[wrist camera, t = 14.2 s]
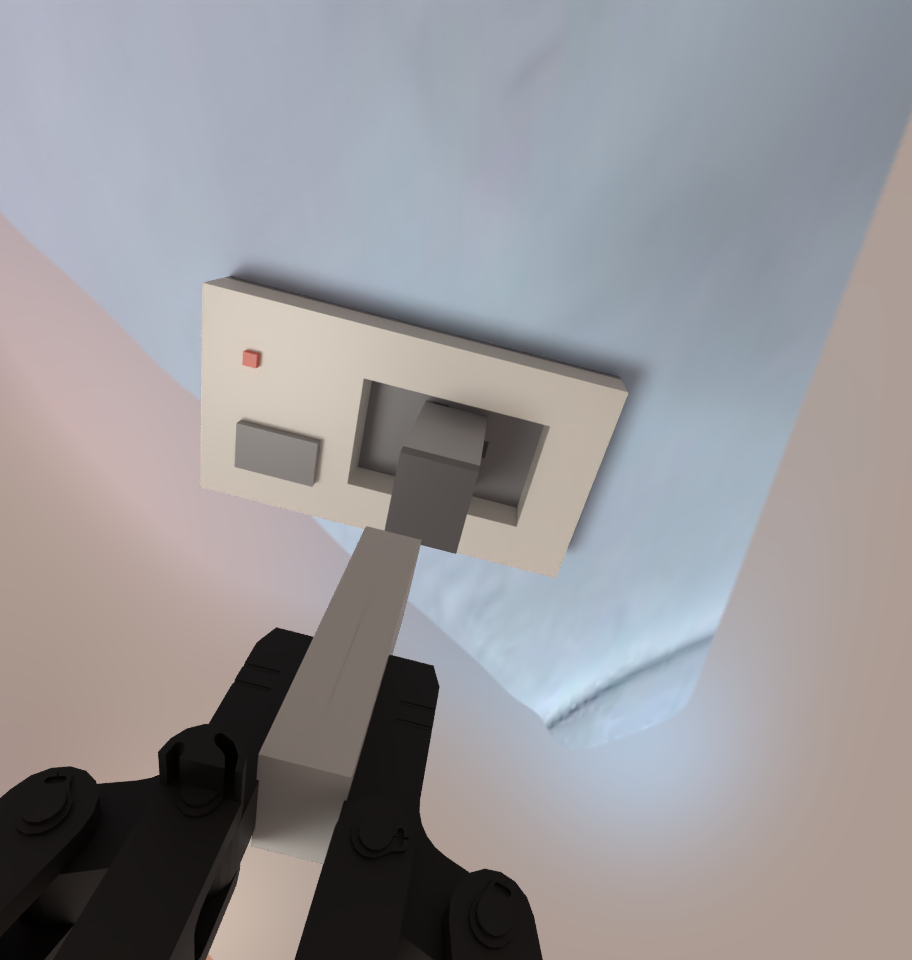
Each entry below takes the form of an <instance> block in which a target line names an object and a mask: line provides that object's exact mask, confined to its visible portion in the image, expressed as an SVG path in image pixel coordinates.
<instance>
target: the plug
mask: <svg viewBox="0 0 912 960" xmlns="http://www.w3.org/2000/svg"><path fill="white" fill-rule="evenodd" d="M487 419H488V417H485V416H481V415H477V414H473V413H470V412H466V411H462V410H458V409H454V408H450V407H446V406H442V405H438V404H435V403H431V402H427V401H425V403H424V405H423V407H422V409H421V411H420V413H419V415H418V417H417V419H416V421H415V423H414V425H413V427H412V429H411V431H410V433H409V435H408V437H407V439H406V441H405V443H404V446H403V448H402V450H401V452H400V455H399V460H398V465H397V470H396V475H395V480H394V485H393V490H392V495H391V500H390V505H389V510H388V515H387V520H386V525H385V530H384V531H388V532H392V533H396V534H400V535H404V536H408V537H412V538H416V539H420V540H422V541H421V545H424V546H428V547H432V548H435V549H439V550H443V551H447V552H451V553H455V554H456V552H457V549H458V545H459V542H460V538H461V535H462V531H463V527H464V524H465V520H466V517H467V513H468V510H469V506H470V502H471V499H472V495H473V492H474V488H475V484H476V481H477V477H478V474H479V468H480V462H481V456H482V450H483V444H484V438H485V432H486V425H487Z"/></svg>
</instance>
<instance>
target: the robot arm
mask: <svg viewBox="0 0 912 960" xmlns="http://www.w3.org/2000/svg"><path fill="white" fill-rule="evenodd" d="M421 541H422V540H420V539H416V538H412V537H408V536H404V535H400V534H396V533H392V532H388V531H384V530H380V529H376V528H372V527H369V526H366V527H365V529H364V531H363V534H362V536H361V538H360V540H359V542H358V544H357V546H356V548H355V551H354V553H353V555H352V557H351V559H350V561H349V563H348V565H347V568H346V570H345V572H344V574H343V576H342V578H341V580H340V582H339V585H338V587H337V589H336V591H335V593H334V595H333V597H332V599H331V601H330V604H329V606H328V608H327V610H326V612H325V614H324V616H323V618H322V621H321V623H320V625H319V627H318V629H317V631H316V633H315V636H314V637H311V636H308V635H304V634H300V633H296V632H292V631H288V630H285V629H280V628H275V629H274V630H272V631H271V632H270V633H268V634H267V635H266V636H265V637H263V638H262V639H261V640H259V641H258V642H257V643H256V645H255V646H254V648H253V650H252V652H251V653H250V655H249V657H248V658H247V660H246V662H245V664H244V667H242V669H241V670H240V672H239V674H238V675H237V677H236V679H235V682H234V683H233V684H232V686H231V687H230V689H229V690H228V692H227V694H226V695H225V697H224V699H223V701H222V702H221V704H220V706H219V707H218V709H217V711H216V713H215V714H214V716H213V717H212V719H211V721H210V723H209V724H203V725H200V726H195V727H191V728H187V729H185V730H184V731H182V732H180V733H179V734H177V735H175V736H174V737H172V738H171V739H170V740H169V741H168V742H167V743H166V744H165V745H164V746H163V747H162V748H161V750H160V751H159V752H158V757H159V758H158V759H159V773H160V775H157V776H155V777H152V778H148V779H143V780H137V781H127V782H115V783H103V784H96V781H95V780H94V779H93V778H92V776H90V774H89V773H88V772H87V771H85V770H81V769H77V768H74V767H71V766H70V767H57V768H50V769H47V770H45V771H42V772H39V773H37V774H34V775H31V776H29V777H28V778H27V779H25V780H23V781H22V782H21V783H19V784H18V785H16V786H14V787H13V788H12V789H10V790H9V791H8V792H7V793H6V794H4V795H3V796H2V797H1V798H0V960H206V957H207V955H208V953H209V950H210V948H211V945H212V943H213V940H214V938H215V936H216V933H217V931H218V928H219V926H220V923H221V921H222V919H223V916H224V914H225V911H226V909H227V906H228V904H229V902H230V899H231V897H232V894H233V892H234V889H235V887H236V884H237V880H238V875H239V871H240V862H241V860H242V858H243V855H244V853H245V850H246V848H247V846H248V843H249V841H250V839H251V836H252V842H251V846H252V847H256V848H260V849H264V850H268V851H272V852H276V853H280V854H284V855H288V856H292V857H296V858H300V859H304V860H308V861H312V862H316V863H320V864H323V867H322V870H321V874H320V877H319V880H318V884H317V887H316V890H315V894H314V897H313V900H312V904H311V907H310V910H309V914H308V917H307V921H306V923H305V927H304V930H303V933H302V937H301V940H300V943H299V947H298V950H297V954H296V957H295V960H543V959H542V954H541V949H540V944H539V939H538V934H537V930H536V924H535V919H534V915H533V913H532V910H531V907H530V904H529V902H528V899H527V897H526V895H525V894H524V893H523V892H522V890H521V889H520V888H519V886H518V885H517V884H516V882H515V881H513V880H512V879H510V878H509V877H507V876H506V875H504V874H503V873H501V872H498V871H493V870H488V869H482V870H479V871H475V872H471V873H469V872H468V871H466V870H465V869H463V868H462V867H460V866H459V865H458V864H456V863H455V862H453V861H452V860H450V859H449V858H447V857H446V856H445V855H443V854H442V853H441V852H440V851H439V850H438V849H437V848H435V847H434V845H433V844H432V842H431V841H430V840H429V838H428V837H427V835H426V833H425V831H424V828H423V826H422V823H421V818H420V812H419V810H420V797H421V791H422V785H423V779H424V773H425V767H426V762H427V756H428V750H429V744H430V738H431V733H432V732H431V731H432V727H433V721H434V715H435V709H436V704H437V698H438V692H439V684H438V680H437V677H436V673H435V669H434V666H433V665H428V664H425V663H420V662H417V661H413V660H409V659H404V658H401V657H397V656H393V655H392V654H393V651H394V647H395V644H396V640H397V637H398V633H399V630H400V626H401V623H402V619H403V616H404V611H405V607H406V603H407V599H408V595H409V591H410V587H411V583H412V578H413V574H414V570H415V566H416V562H417V558H418V554H419V549H420V545H421Z"/></svg>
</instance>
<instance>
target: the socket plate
mask: <svg viewBox="0 0 912 960" xmlns="http://www.w3.org/2000/svg"><path fill="white" fill-rule="evenodd" d="M628 393H629V392H628V390H627V389H626V387H625V385H624V383H623V382H622V380H621V378H620V377H616V376H613V375H609V374H605V373H601V372H597V371H593V370H589V369H585V368H582V367H578V366H574V365H570V364H566V363H562V362H558V361H554V360H551V359H547V358H543V357H539V356H535V355H531V354H527V353H523V352H520V351H516V350H512V349H508V348H504V347H500V346H496V345H492V344H489V343H485V342H481V341H477V340H473V339H469V338H465V337H461V336H458V335H454V334H450V333H446V332H442V331H438V330H434V329H430V328H427V327H423V326H419V325H415V324H411V323H407V322H403V321H399V320H395V319H392V318H388V317H384V316H380V315H376V314H372V313H368V312H364V311H361V310H357V309H353V308H349V307H345V306H341V305H337V304H333V303H330V302H326V301H322V300H318V299H314V298H310V297H306V296H302V295H299V294H295V293H291V292H287V291H283V290H279V289H275V288H271V287H268V286H264V285H260V284H256V283H252V282H248V281H244V280H240V279H237V278H233V277H225V278H220V279H216V280H212V281H207V282H203V288H202V367H201V446H200V487H202V488H206V489H210V490H214V491H218V492H221V493H226V494H229V495H233V496H237V497H241V498H245V499H249V500H253V501H257V502H261V503H265V504H269V505H272V506H276V507H280V508H284V509H288V510H292V511H296V512H300V513H304V514H308V515H311V516H315V517H319V518H323V519H327V520H331V521H335V522H339V523H343V524H347V525H351V526H355V527H358V528H362V529H365V527H366V526H369V527H372V528H376V529H380V530H385V525H386V520H387V515H388V510H389V505H390V500H391V495H392V490H393V485H394V480H395V475H396V470H397V465H398V460H399V455H400V452H401V450H402V448H403V446H404V443H405V441H406V439H407V437H408V435H409V433H410V431H411V429H412V427H413V425H414V423H415V421H416V419H417V417H418V415H419V413H420V411H421V409H422V407H423V405H424V403H425V401H427V402H431V403H435V404H438V405H442V406H446V407H450V408H454V409H458V410H462V411H466V412H470V413H473V414H477V415H481V416H485V417H488V419H487V425H486V432H485V438H484V444H483V450H482V456H481V462H480V468H479V474H478V477H477V481H476V484H475V488H474V492H473V495H472V499H471V502H470V506H469V510H468V513H467V517H466V520H465V524H464V527H463V531H462V535H461V538H460V542H459V545H458V549H457V552H456V553H460V554H464V555H468V556H472V557H476V558H480V559H484V560H488V561H492V562H496V563H500V564H503V565H507V566H511V567H515V568H519V569H523V570H527V571H531V572H535V573H539V574H543V575H547V576H550V577H554V578H556V576H557V574H558V571H559V569H560V566H561V563H562V561H563V558H564V556H565V553H566V551H567V548H568V546H569V543H570V541H571V538H572V535H573V533H574V530H575V528H576V525H577V523H578V520H579V518H580V515H581V513H582V510H583V508H584V505H585V502H586V500H587V497H588V495H589V492H590V490H591V487H592V485H593V482H594V480H595V477H596V474H597V472H598V469H599V467H600V464H601V462H602V459H603V457H604V454H605V452H606V449H607V447H608V444H609V441H610V439H611V436H612V434H613V431H614V429H615V426H616V424H617V421H618V419H619V416H620V413H621V411H622V408H623V406H624V403H625V401H626V398H627V396H628Z"/></svg>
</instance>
